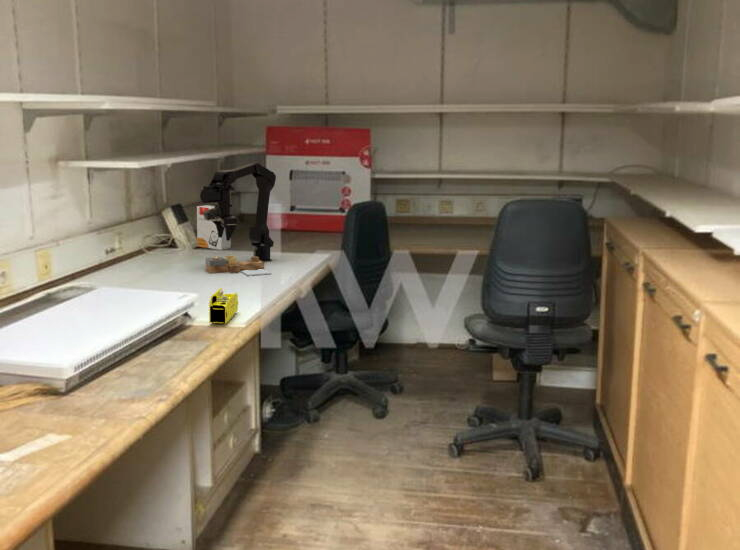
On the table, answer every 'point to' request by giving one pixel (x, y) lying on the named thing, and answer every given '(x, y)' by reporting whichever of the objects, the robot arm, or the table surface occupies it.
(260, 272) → the mat
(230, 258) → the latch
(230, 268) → the plane body
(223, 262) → the cap plate
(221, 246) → the hard drive box
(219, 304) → the yellow toy chassis
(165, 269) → the table surface
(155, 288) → the table surface
